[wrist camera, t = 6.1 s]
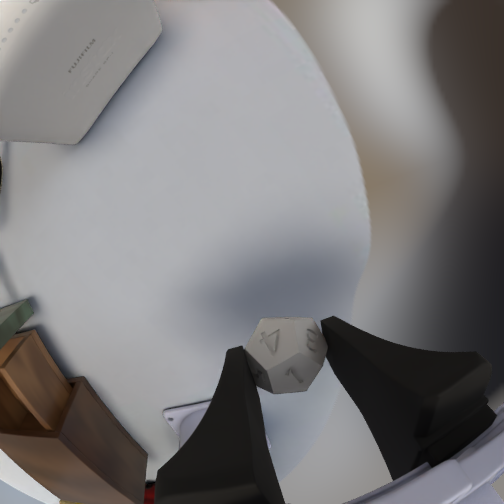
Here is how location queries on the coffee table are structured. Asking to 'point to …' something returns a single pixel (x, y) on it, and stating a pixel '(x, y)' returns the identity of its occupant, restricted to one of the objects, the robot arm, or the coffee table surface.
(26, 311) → the drawer
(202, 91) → the coffee table surface
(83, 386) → the cabinet
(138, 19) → the photo printer
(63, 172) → the coffee table surface
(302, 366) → the game die
